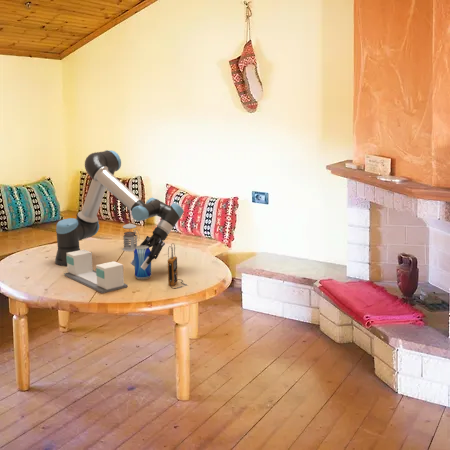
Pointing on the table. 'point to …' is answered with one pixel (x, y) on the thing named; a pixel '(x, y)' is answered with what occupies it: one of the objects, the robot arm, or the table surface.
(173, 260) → the multimeter
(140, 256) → the beer can
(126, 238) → the french press
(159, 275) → the table surface
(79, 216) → the robot arm
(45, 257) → the table surface
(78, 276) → the rail board
